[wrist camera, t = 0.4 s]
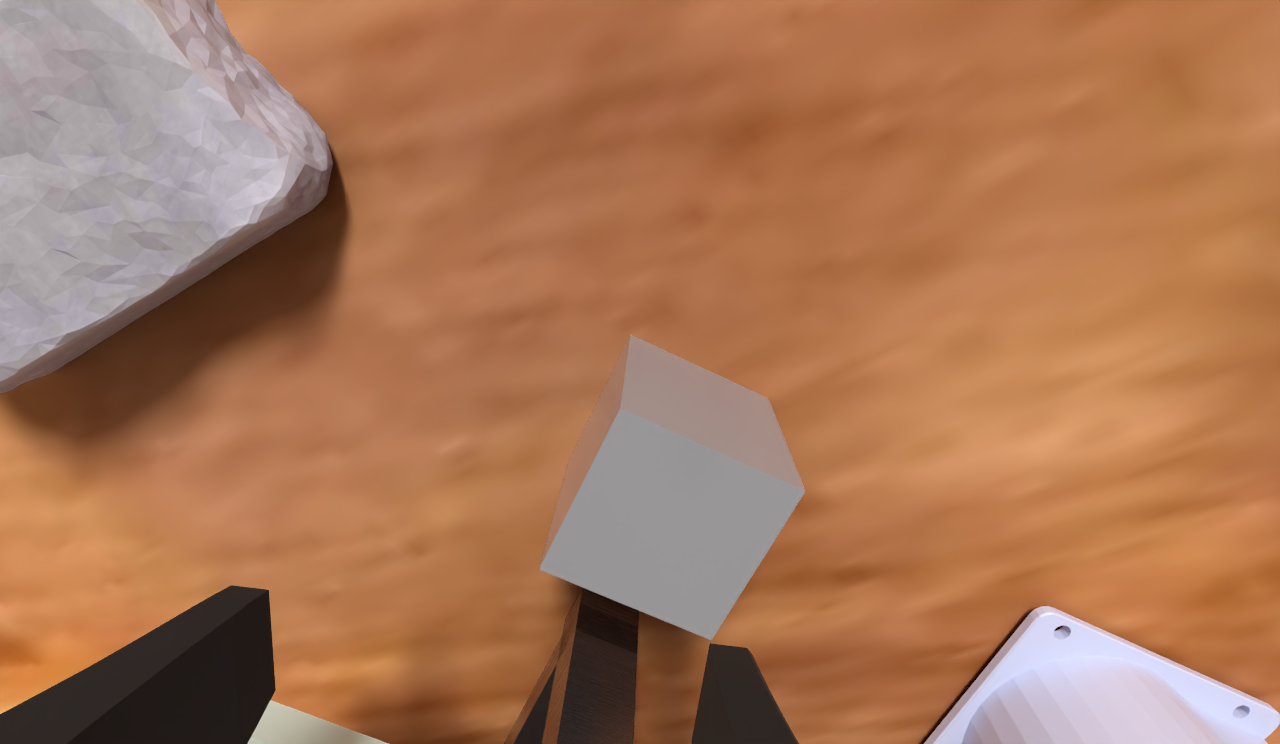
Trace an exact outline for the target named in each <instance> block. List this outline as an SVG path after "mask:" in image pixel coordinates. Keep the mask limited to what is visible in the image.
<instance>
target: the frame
mask: <svg viewBox="0 0 1280 744" xmlns="http://www.w3.org/2000/svg"><path fill="white" fill-rule="evenodd" d="M638 619H639V610H636V609H634V608H631V607H629V606H626V605H624V604H622V603H619V602H617V601H614V600H612V599H609V598H607V597H605V596H602V595H600V594H597V593H595V592H593V591H590V590H588V589H585V588H583V587H582V589H581V591H580V593H579V595H578V597H577V599H576V600H575V602H574V604H573V606H572V608H571V610H570V612H569V613H568V615H567V617H566V619H565V624H564V629H563V635H562V637H561V639H560V641H559V643H558V645H557V647H556V648H555V650H554V652H553V654H552V656H551V658H550V660H549V661H548V663H547V665H546V667H545V669H544V671H543V673H542V674H541V676H540V678H539V680H538V682H537V684H536V686H535V687H534V689H533V691H532V693H531V695H530V697H529V698H528V700H527V702H526V704H525V706H524V708H523V710H522V711H521V713H520V715H519V717H518V719H517V721H516V723H515V724H514V726H513V728H512V730H511V732H510V734H509V735H508V737H507V739H506V741H505V743H504V744H633V737H634V714H635V690H636V667H637V643H638Z"/></svg>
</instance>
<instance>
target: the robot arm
mask: <svg viewBox="0 0 1280 744" xmlns="http://www.w3.org/2000/svg"><path fill="white" fill-rule="evenodd" d="M1059 626H1063V627H1062V628H1061V629H1059V630H1056V631H1054V630H1055V629H1056V628H1057V627H1059ZM274 692H275V676H274V661H273V647H272V632H271V617H270V602H269V590H264V589H256V588H248V587H240V586H230V587H228V588H226V589H224V590H222V591H220V592H218V593H216V594H215V595H213V596H211V597H209V598H207V599H206V600H204V601H202V602H200V603H199V604H197V605H195V606H193V607H192V608H190V609H188V610H187V611H185V612H183V613H181V614H180V615H178V616H176V617H175V618H173V619H171V620H170V621H168V622H166V623H164V624H163V625H161V626H159V627H158V628H156V629H154V630H153V631H151V632H149V633H147V634H146V635H144V636H142V637H140V638H139V639H137V640H135V641H133V642H132V643H130V644H128V645H127V646H125V647H123V648H121V649H120V650H118V651H116V652H114V653H113V654H111V655H109V656H107V657H106V658H104V659H102V660H100V661H99V662H97V663H95V664H93V665H92V666H90V667H88V668H86V669H84V670H83V671H81V672H79V673H77V674H75V675H73V676H71V677H70V678H68V679H66V680H64V681H62V682H60V683H58V684H56V685H55V686H53V687H51V688H49V689H47V690H45V691H43V692H42V693H40V694H38V695H36V696H34V697H32V698H30V699H28V700H27V701H25V702H23V703H21V704H19V705H17V706H15V707H13V708H12V709H10V710H8V711H6V712H4V713H2V714H0V744H247V743H248V742H249V740H250V738H251V736H252V734H253V732H254V731H255V729H256V727H257V725H258V723H259V721H260V719H261V717H262V715H263V713H264V711H265V710H266V708H267V706H268V704H269V702H270V700H271V698H272V696H273V694H274ZM1279 724H1280V714H1279V713H1278V712H1277V711H1276V710H1275V709H1274V708H1273V707H1272V706H1270V705H1269V704H1268V703H1265V702H1263V701H1261V700H1259V699H1256V698H1254V697H1252V696H1250V695H1247V694H1245V693H1243V692H1241V691H1239V690H1236V689H1234V688H1232V687H1230V686H1227V685H1225V684H1223V683H1221V682H1218V681H1216V680H1214V679H1212V678H1209V677H1207V676H1205V675H1203V674H1201V673H1198V672H1196V671H1194V670H1192V669H1189V668H1187V667H1185V666H1183V665H1180V664H1178V663H1176V662H1174V661H1171V660H1169V659H1167V658H1165V657H1163V656H1160V655H1158V654H1156V653H1154V652H1151V651H1149V650H1147V649H1145V648H1142V647H1140V646H1138V645H1136V644H1133V643H1131V642H1129V641H1127V640H1125V639H1122V638H1120V637H1118V636H1116V635H1113V634H1111V633H1109V632H1107V631H1104V630H1102V629H1100V628H1098V627H1095V626H1093V625H1091V624H1089V623H1087V622H1084V621H1082V620H1080V619H1078V618H1075V617H1073V616H1071V615H1069V614H1066V613H1064V612H1062V611H1060V610H1057V609H1055V608H1053V607H1049V606H1042V607H1039V608H1036V609H1034V610H1033V611H1032V612H1031V613H1030V614H1029V615H1028V616H1027V617H1026V619H1025V620H1024V621H1023V622H1022V624H1021V625H1020V626H1019V627H1018V628H1017V630H1016V631H1015V632H1014V633H1013V635H1012V636H1011V637H1010V638H1009V640H1008V641H1007V642H1006V643H1005V644H1004V646H1003V647H1002V648H1001V649H1000V651H999V652H998V653H997V654H996V655H995V657H994V658H993V659H992V660H991V662H990V663H989V664H988V665H987V667H986V668H985V669H984V670H983V671H982V673H981V674H980V675H979V676H978V678H977V679H976V680H975V681H974V683H973V684H972V685H971V686H970V687H969V689H968V690H967V691H966V692H965V694H964V695H963V696H962V697H961V699H960V700H959V701H958V702H957V703H956V705H955V706H954V707H953V708H952V710H951V711H950V712H949V713H948V714H947V716H946V717H945V718H944V719H943V721H942V722H941V723H940V724H939V726H938V727H937V728H936V729H935V730H934V732H933V733H932V734H931V735H930V737H929V738H928V739H927V740H926V742H925V743H924V744H1268V743H1267V742H1266V741H1265V740H1264V739H1266V738H1267V737H1268V736H1269V735H1270V734H1271V733H1272V732H1273V731H1274V730H1275V729H1276V728H1277V727H1278V725H1279ZM692 744H799V743H798V741H797V740H796V738H795V736H794V735H793V733H792V731H791V729H790V727H789V726H788V724H787V722H786V720H785V718H784V717H783V715H782V713H781V711H780V709H779V707H778V705H777V704H776V702H775V700H774V698H773V696H772V694H771V692H770V690H769V688H768V686H767V684H766V682H765V680H764V678H763V676H762V674H761V672H760V670H759V668H758V666H757V664H756V661H755V659H754V657H753V655H752V654H751V652H750V651H749V650H748V649H747V648H742V647H734V646H725V645H717V644H710V646H709V651H708V656H707V662H706V667H705V672H704V678H703V683H702V689H701V694H700V699H699V705H698V710H697V715H696V721H695V726H694V731H693V737H692Z"/></svg>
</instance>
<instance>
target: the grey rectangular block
mask: <svg viewBox="0 0 1280 744" xmlns="http://www.w3.org/2000/svg"><path fill="white" fill-rule="evenodd" d="M804 493H805V489H804V486H803V484H802V481H801V479H800V476H799V474H798V471H797V469H796V466H795V464H794V461H793V459H792V456H791V454H790V451H789V449H788V446H787V444H786V441H785V439H784V436H783V434H782V431H781V429H780V426H779V424H778V421H777V419H776V416H775V414H774V411H773V409H772V406H771V404H770V401H769V399H768V398H766V397H764V396H762V395H760V394H758V393H756V392H754V391H751V390H749V389H747V388H745V387H743V386H741V385H738V384H736V383H734V382H732V381H730V380H728V379H725V378H723V377H721V376H719V375H717V374H715V373H712V372H710V371H708V370H706V369H704V368H702V367H700V366H697V365H695V364H693V363H691V362H689V361H687V360H684V359H682V358H680V357H678V356H676V355H674V354H671V353H669V352H667V351H665V350H663V349H661V348H659V347H656V346H654V345H652V344H650V343H648V342H646V341H643V340H641V339H639V338H637V337H635V336H633V335H630V337H629V339H628V341H627V343H626V345H625V347H624V349H623V351H622V353H621V355H620V357H619V359H618V361H617V363H616V365H615V367H614V369H613V371H612V373H611V375H610V377H609V379H608V381H607V384H606V386H605V388H604V390H603V392H602V394H601V396H600V398H599V400H598V402H597V404H596V406H595V408H594V410H593V412H592V414H591V416H590V418H589V420H588V422H587V424H586V426H585V428H584V430H583V432H582V434H581V436H580V438H579V440H578V443H577V445H576V447H575V449H574V451H573V453H572V455H571V457H570V459H569V461H568V464H567V468H566V472H565V475H564V479H563V483H562V486H561V490H560V494H559V497H558V501H557V505H556V508H555V512H554V516H553V519H552V523H551V527H550V530H549V534H548V538H547V541H546V545H545V549H544V552H543V556H542V560H541V563H540V567H539V570H542V571H544V572H546V573H549V574H551V575H554V576H556V577H559V578H561V579H563V580H566V581H568V582H571V583H573V584H576V585H578V586H580V587H583V588H585V589H588V590H590V591H593V592H595V593H597V594H600V595H602V596H605V597H607V598H609V599H612V600H614V601H617V602H619V603H622V604H624V605H626V606H629V607H631V608H634V609H636V610H639V611H641V612H643V613H646V614H648V615H651V616H653V617H656V618H658V619H660V620H663V621H665V622H668V623H670V624H673V625H675V626H677V627H680V628H682V629H685V630H687V631H690V632H692V633H694V634H697V635H699V636H702V637H704V638H706V639H709V640H712V639H713V637H714V636H715V634H716V632H717V631H718V629H719V628H720V626H721V624H722V623H723V621H724V620H725V618H726V617H727V615H728V613H729V612H730V610H731V609H732V607H733V605H734V604H735V602H736V601H737V599H738V598H739V596H740V594H741V593H742V591H743V590H744V588H745V586H746V585H747V583H748V582H749V580H750V578H751V577H752V575H753V574H754V572H755V571H756V569H757V567H758V566H759V564H760V563H761V561H762V559H763V558H764V556H765V555H766V553H767V552H768V550H769V548H770V547H771V545H772V544H773V542H774V540H775V539H776V537H777V536H778V534H779V533H780V531H781V529H782V528H783V526H784V525H785V523H786V521H787V520H788V518H789V517H790V515H791V514H792V512H793V510H794V509H795V507H796V506H797V504H798V502H799V501H800V499H801V498H802V496H803V495H804Z"/></svg>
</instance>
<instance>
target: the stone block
mask: <svg viewBox="0 0 1280 744" xmlns="http://www.w3.org/2000/svg"><path fill="white" fill-rule="evenodd" d="M332 166H333V160H332V156H331V152H330V149H329V145H328V141H327V138H326V135H325V133H324V132H323V131H322V129H321V128H320V127H319V126H318V124H317V123H316V122H315V121H314V119H313V118H312V117H311V116H310V115H309V113H308V112H307V111H306V110H305V109H303V108H302V107H301V106H300V105H298V104H297V102H296V100H295V98H294V97H293V96H292V95H291V94H290V93H289V92H287V91H286V90H285V89H284V88H283V87H281V86H280V85H279V84H278V83H277V81H276V80H275V79H274V78H273V76H272V75H271V74H270V73H269V72H268V71H267V70H266V69H265V68H264V67H263V66H262V65H261V64H260V63H259V62H258V61H257V60H256V59H255V58H254V57H252V56H250V55H248V54H246V52H245V51H244V50H243V48H242V47H241V46H240V44H239V43H238V42H237V40H236V39H235V38H234V36H233V35H232V34H231V33H230V31H229V29H228V27H227V25H226V22H225V20H224V18H223V16H222V14H221V12H220V10H219V8H218V6H217V4H216V2H215V0H0V394H2V393H5V392H9V391H11V390H12V389H14V388H16V387H18V386H19V385H21V384H23V383H26V382H28V381H31V380H34V379H37V378H40V377H43V376H47V375H49V374H51V373H52V372H54V371H56V370H58V369H60V368H61V367H63V366H64V365H65V364H67V363H68V362H70V361H72V360H73V359H75V358H77V357H79V356H80V355H82V354H83V353H85V352H86V351H88V350H89V349H91V348H93V347H94V346H96V345H97V344H99V343H100V342H102V341H104V340H105V339H107V338H108V337H110V336H112V335H113V334H115V333H116V332H118V331H120V330H121V329H123V328H124V327H126V326H127V325H129V324H130V323H132V322H133V321H135V320H137V319H138V318H140V317H141V316H143V315H145V314H146V313H148V312H149V311H151V310H153V309H154V308H156V307H158V306H159V305H161V304H163V303H164V302H166V301H167V300H169V299H171V298H172V297H174V296H176V295H177V294H179V293H180V292H182V291H183V290H185V289H186V288H188V287H190V286H191V285H193V284H194V283H196V282H197V281H199V280H201V279H202V278H204V277H206V276H207V275H209V274H210V273H212V272H213V271H215V270H216V269H218V268H219V267H221V266H222V265H224V264H225V263H227V262H229V261H230V260H232V259H233V258H235V257H236V256H238V255H239V254H241V253H242V252H244V251H246V250H247V249H249V248H251V247H252V246H254V245H255V244H257V243H259V242H261V241H262V240H264V239H266V238H267V237H269V236H271V235H273V234H274V233H275V232H277V231H278V230H279V229H281V228H283V227H285V226H287V225H289V224H291V223H292V222H294V221H295V220H296V219H298V218H299V217H301V216H303V215H305V214H307V213H308V212H310V211H312V210H313V209H314V208H315V207H316V206H317V205H318V204H319V203H320V202H321V201H322V200H323V198H324V197H325V196H326V195H327V190H328V185H329V180H330V176H331V171H332Z"/></svg>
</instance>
